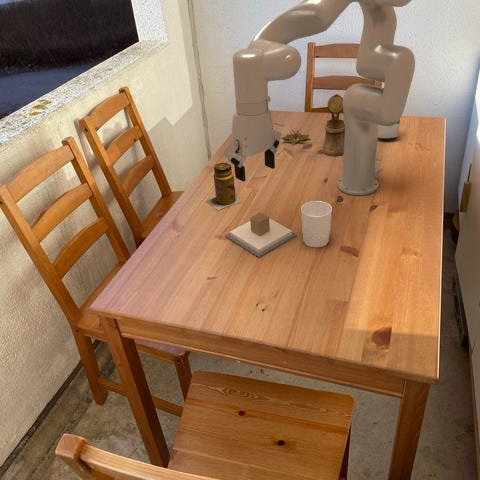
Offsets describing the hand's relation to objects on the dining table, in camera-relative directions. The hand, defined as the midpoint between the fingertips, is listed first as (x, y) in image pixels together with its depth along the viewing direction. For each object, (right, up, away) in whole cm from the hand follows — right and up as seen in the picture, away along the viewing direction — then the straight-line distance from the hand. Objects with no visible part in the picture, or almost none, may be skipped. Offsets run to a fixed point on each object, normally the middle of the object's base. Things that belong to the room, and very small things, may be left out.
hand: (255, 173), depth 119 cm
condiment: (-9, -5, +28) cm, 30 cm away
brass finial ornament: (+31, +17, +54) cm, 64 cm away
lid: (+2, -15, +10) cm, 19 cm away
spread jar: (+49, +22, +59) cm, 80 cm away
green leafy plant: (+18, +22, +64) cm, 70 cm away
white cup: (+16, -17, +7) cm, 25 cm away
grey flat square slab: (+2, -16, +10) cm, 19 cm away
